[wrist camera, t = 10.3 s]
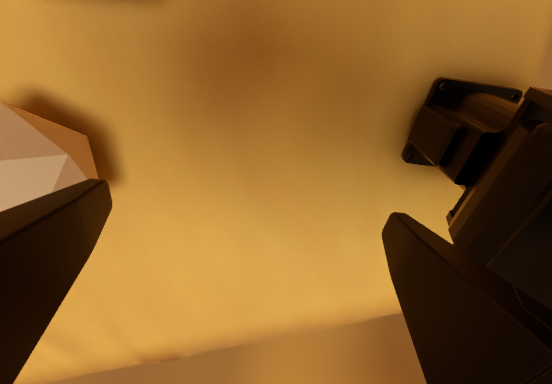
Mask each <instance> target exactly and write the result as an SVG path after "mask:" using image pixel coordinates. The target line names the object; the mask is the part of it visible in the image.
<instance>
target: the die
mask: <svg viewBox="0 0 552 384" xmlns="http://www.w3.org/2000/svg"><path fill="white" fill-rule="evenodd" d="M90 178H95V179H98V175H97V171H96V167H95V163H94V159H93V156H92V152H91V148H90V144H89V140H88V136H87V135H84V134H82V133H79V132H77V131H74V130H72V129H69V128H67V127H64V126H62V125H59V124H57V123H54V122H52V121H49V120H47V119H44V118H42V117H39V116H37V115H34V114H32V113H29V112H27V111H24V110H22V109H19V108H17V107H14V106H12V105H9V104H7V103H4V102H2V101H0V212H1V211H3V210H6V209H9V208H12V207H14V206H17V205H20V204H22V203H25V202H28V201H30V200H33V199H36V198H39V197H41V196H44V195H47V194H49V193H52V192H55V191H57V190H60V189H63V188H65V187H68V186H71V185H74V184H76V183H79V182H82V181H84V180H87V179H90Z"/></svg>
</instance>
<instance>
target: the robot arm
mask: <svg viewBox="0 0 552 384" xmlns="http://www.w3.org/2000/svg"><path fill="white" fill-rule="evenodd" d="M442 83H444V86H443V87H442V88H439V87H440V85H441V84H442ZM514 94H515V95H514ZM513 95H514V97H513V98H511V97H512V96H513ZM521 97H522V91H520V90H518V89H515V88H508V87H502V86H496V85H489V84H483V83H476V82H470V81H464V80H457V79H451V78H445V77H441V78H439V79H437V80H436V81H435V82H434V84H433V86H432V89H431V91H430V93H429V95H428V98H427V100H426V102H425V105H424V107H423V108H421V110H420V113H419V115H418V117H417V120H416V122H415V124H414V126H413V129H412V131H411V133H410V135H409V138H408V140H409V141H408V143H407V145H406V148H405V150H404V152H403V154H402V159H403V160H404V161H405V162H406V163H411V164H419V165H428V166H436V167H438V168H439V169H440V170H441V171H442V172H443V173H444V174H445V175H446V176H447V177H448V178H449V179H450V180H451V181H453V182H454V183H455V184H457V185H459V186H460V187H461V188H462V189H463V190H464V191H465V192H464V193H463V195H462V196H461V198H460V199H459V201H458V202H457V204H456V205H455V207H454V208H453V210H450V211H449V213H448V215H447V216H446V219H447V222H448V225H449V233H450V235H451V238H452V241H453V242H454V243H453V244H451V243H449V242H448V241H446V240H445V239H443V238H442V237H440V236H439V235H437V234H436V233H434V232H433V231H431V230H430V229H428V228H427V227H425V226H424V225H422V224H421V223H419V222H418V221H416V220H415V219H413V218H412V217H410V216H409V215H407V214H405V213H398V212H393V213H391V214H390V216H389V218H388V220H387V222H386V224H385V226H384V228H383V231H382V240H383V244H384V249H385V254H386V258H387V263H388V267H389V272H390V275H391V279H392V282H393V285H394V288H395V291H396V294H397V297H398V300H399V303H400V306H401V309H402V312H403V315H404V318H405V321H406V324H407V327H408V330H409V333H410V336H411V338H412V341H413V344H414V347H415V350H416V353H417V356H418V359H419V362H420V364H421V368H422V371H423V374H424V377H425V380H426V383H427V384H552V90H547V89H540V88H536V87H529V89H528V90H527V92H526V93H525V95H524V98H525V99H524V101H523V102H522V104H521V105H518V102H519V101H520V99H521ZM409 155H411V157H409V158H407V157H408V156H409ZM111 209H112V199H111V194H110V189H109V185H108V182H107V181H106V180H104V179H95V178H90V179H87V180H84V181H82V182H79V183H76V184H74V185H71V186H68V187H65V188H63V189H60V190H57V191H55V192H52V193H49V194H47V195H44V196H41V197H39V198H36V199H33V200H30V201H28V202H25V203H22V204H20V205H17V206H14V207H12V208H9V209H6V210H3V211H1V212H0V384H13V383H14V381H15V380H16V378H17V376H18V375H19V373H20V371H21V370H22V368H23V366H24V365H25V363H26V361H27V360H28V358H29V356H30V355H31V353H32V351H33V350H34V348H35V346H36V345H37V343H38V341H39V340H40V338H41V336H42V335H43V333H44V331H45V330H46V328H47V326H48V325H49V323H50V321H51V320H52V318H53V316H54V315H55V313H56V311H57V310H58V308H59V306H60V305H61V303H62V301H63V300H64V298H65V296H66V295H67V293H68V291H69V290H70V288H71V286H72V285H73V283H74V282H75V280H76V278H77V277H78V275H79V273H80V272H81V270H82V268H83V267H84V265H85V263H86V262H87V260H88V258H89V256H90V255H91V253H92V251H93V249H94V247H95V245H96V243H97V240H98V238H99V236H100V234H101V232H102V229H103V227H104V225H105V223H106V220H107V218H108V216H109V214H110V211H111Z"/></svg>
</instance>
